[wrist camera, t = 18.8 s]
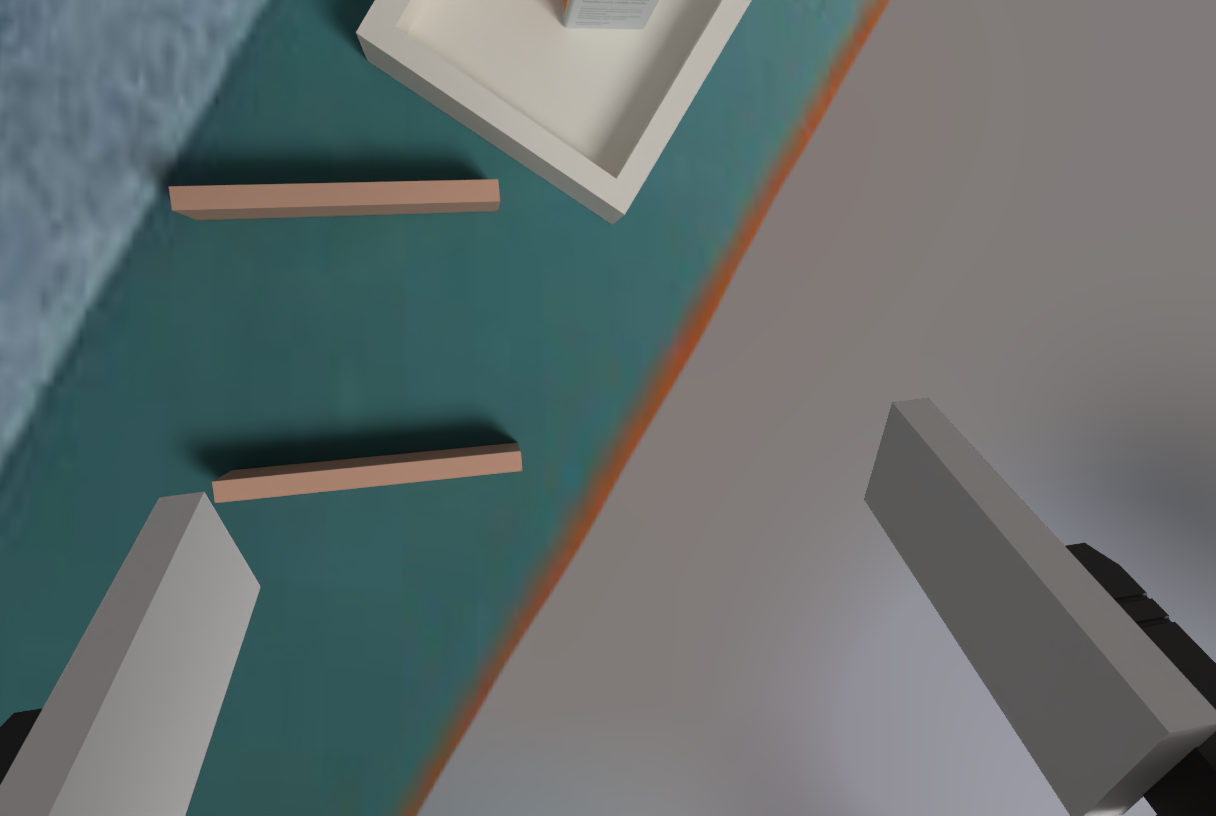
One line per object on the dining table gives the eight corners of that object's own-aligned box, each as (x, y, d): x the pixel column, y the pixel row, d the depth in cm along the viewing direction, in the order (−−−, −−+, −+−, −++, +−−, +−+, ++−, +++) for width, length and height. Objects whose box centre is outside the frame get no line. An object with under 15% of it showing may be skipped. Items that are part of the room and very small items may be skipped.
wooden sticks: (235, 490, 32) (215, 502, 30) (193, 198, 30) (168, 186, 28) (519, 461, 35) (522, 470, 32) (496, 190, 33) (498, 179, 30)
